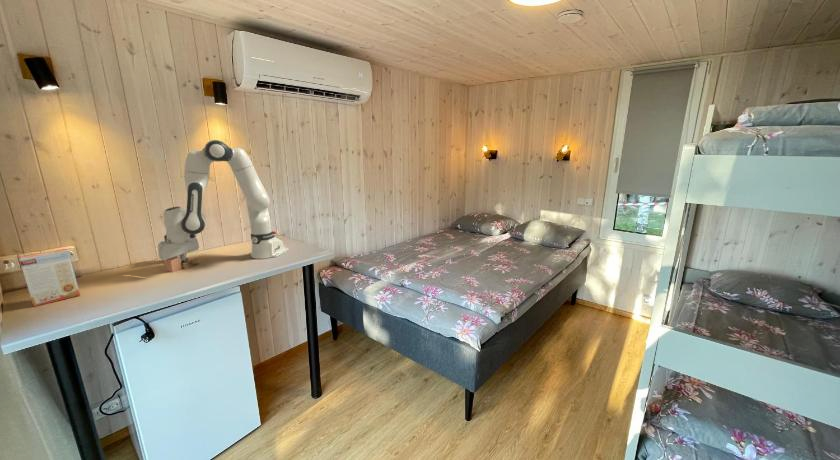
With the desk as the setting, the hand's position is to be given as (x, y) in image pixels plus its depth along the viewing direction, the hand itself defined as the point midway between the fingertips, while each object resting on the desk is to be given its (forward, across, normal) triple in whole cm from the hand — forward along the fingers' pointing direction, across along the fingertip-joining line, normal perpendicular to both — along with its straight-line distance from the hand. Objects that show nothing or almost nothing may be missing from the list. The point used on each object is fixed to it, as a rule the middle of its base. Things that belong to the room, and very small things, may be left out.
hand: (181, 262), depth 184 cm
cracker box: (+3, -46, +15) cm, 48 cm away
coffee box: (+3, +8, +15) cm, 17 cm away
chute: (+3, 0, 0) cm, 3 cm away
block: (+2, -5, 0) cm, 6 cm away
